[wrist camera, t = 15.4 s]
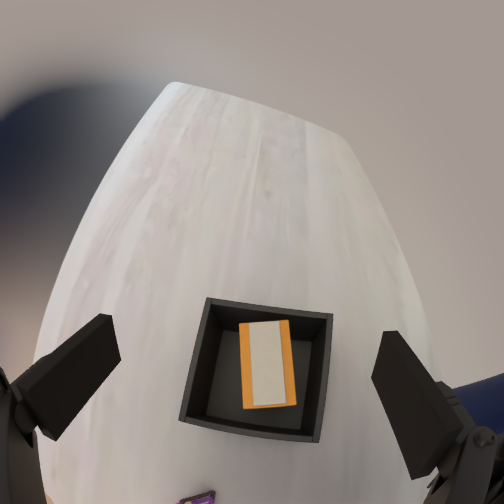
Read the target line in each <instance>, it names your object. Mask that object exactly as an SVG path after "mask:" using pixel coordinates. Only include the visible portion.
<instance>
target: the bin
mask: <svg viewBox="0 0 504 504" xmlns="http://www.w3.org/2000/svg"><path fill="white" fill-rule="evenodd" d="M281 320H288V321H289V329H290V339H291V348H292V359H293V369H294V380H295V391H296V402H297V404H296V405H292V406H283V407H272V408H257V409H243V398H242V378H241V357H240V335H239V324H240V323H254V322H268V321H281ZM332 327H333V314H330V313H320V312H311V311H302V310H294V309H286V308H278V307H270V306H262V305H255V304H248V303H241V302H234V301H228V300H221V299H215V298H213V299H212V298H209V297H207V298H206V301H205V305H204V309H203V313H202V318H201V322H200V326H199V330H198V334H197V338H196V342H195V347H194V351H193V355H192V360H191V364H190V368H189V373H188V377H187V382H186V386H185V391H184V395H183V400H182V405H181V409H180V414H179V419H178V420H179V421H182V422H185V423H189V424H193V425H197V426H201V427H205V428H210V429H214V430H219V431H224V432H229V433H235V434H240V435H246V436H253V437H259V438H267V439H275V440H284V441H295V442H310V443H311V442H312V443H319V440H320V434H321V427H322V421H323V414H324V407H325V399H326V391H327V383H328V374H329V364H330V353H331V341H332Z"/></svg>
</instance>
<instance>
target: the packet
mask: <svg viewBox="0 0 504 504" xmlns="http://www.w3.org/2000/svg"><path fill="white" fill-rule="evenodd" d="M239 335H240V357H241V378H242V398H243V409H257V408H272V407H283V406H292V405H296V404H297V402H296V391H295V380H294V369H293V359H292V348H291V339H290V329H289V321H288V320H281V321H268V322H254V323H240V324H239Z"/></svg>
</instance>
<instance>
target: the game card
mask: <svg viewBox="0 0 504 504" xmlns="http://www.w3.org/2000/svg"><path fill="white" fill-rule="evenodd" d="M209 495H210V497H209V498H205V499H201V500H198V501H194V502H191V501H193V500H196V499H200V498H203V497H206V496H209ZM214 497H215V491H209V492H206V493H203V494H200V495H196V496H193V497H189V498H186V499H182V500H180V502H179V503H177V504H213V502H214Z"/></svg>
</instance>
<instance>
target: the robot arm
mask: <svg viewBox="0 0 504 504" xmlns="http://www.w3.org/2000/svg"><path fill="white" fill-rule="evenodd" d="M120 361H121V357H120V353H119V349H118V344H117V340H116V335H115V330H114V325H113V320H112V315H106V314H99V315H97V316H96V317H95V318H94V319H92V320H91V321H90V322H88V323H87V324H86V325H85V326H84V327H82V328H81V329H80V330H79V331H77V332H76V333H75V334H74V335H72V336H71V337H70V338H69V339H68V340H66V341H65V342H64V343H63V344H62V345H60V346H59V347H58V348H57V349H56V350H54V351H53V352H52V353H50V354H48V355H46V356H44V357H42V358H40V359H39V360H38V361H37V362H36V363H35V365H34V364H33V365H32V366H31V367H30V368H29V369H28V370H26V371H25V372H24V373H23V374H22V375H20V376H19V377H18V378H17V379H16V380H15V381H14V382H12V383H11V384H9V382H8V380H7V378H6V375H5V373H4V371H3V369H2V368H1V367H0V504H47V502H46V497H45V492H44V487H43V482H42V476H41V469H40V462H39V453H38V443H37V434H36V431H35V430H34V429H35V427H36V426H37V425H38V427H39V428H40V430H41V432H42V433H43V435H45V436H47V437H48V438H50V439H52V440H54V441H57V440H58V438H59V437H60V436H61V435H62V433H63V432H64V431H65V429H66V428H67V427H68V426H69V424H70V423H71V422H72V420H73V419H74V418H75V417H76V415H77V414H78V413H79V412H80V410H81V409H82V408H83V407H84V405H85V404H86V403H87V402H88V400H89V399H90V398H91V397H92V395H93V394H94V393H95V392H96V390H97V389H98V388H99V387H100V385H101V384H102V383H103V382H104V381H105V379H106V378H107V377H108V376H109V374H110V373H111V372H112V371H113V370H114V368H115V367H116V366H117V365H118V364H119V362H120ZM371 379H372V381H373V383H374V386H375V388H376V390H377V393H378V395H379V397H380V400H381V402H382V404H383V407H384V409H385V412H386V414H387V417H388V419H389V421H390V424H391V426H392V429H393V431H394V434H395V437H396V439H397V442H398V444H399V447H400V449H401V452H402V455H403V457H404V460H405V463H406V466H407V468H408V471H409V474H410V477H411V480H414V479H418V478H421V477H424V476H428V475H430V473H431V472H432V471H433V470H434V468H435V467H436V466H437V468H438V470H439V473H438V474H437V476H436V477H435V478H434V479H433V480H432V481H431V482H430V484H429V485H428V486H427V488H430V487H431V489H430V491H429V493H428V495H427V497H426V499H425V501H424V503H423V504H504V433H503V434H495V432H494V431H493V430H492V429H490V428H488V427H486V426H477V425H476V424H475V422H474V421H473V419H472V418H471V416H470V415H469V413H468V412H467V411H466V409H465V408H464V406H463V405H462V404H460V400H459V399H458V398H457V397H456V395H455V393H454V392H453V391H452V389H451V388H450V387H449V386H447V385H446V384H445V383H443V382H442V381H440V382H435V381H434V380H433V379H432V377H431V376H430V374H429V373H428V371H427V370H426V369H425V367H424V366H423V364H422V363H421V362H420V360H419V359H418V358H417V356H416V355H415V353H414V352H413V351H412V349H411V348H410V347H409V345H408V344H407V343H406V341H405V340H404V339H403V337H402V336H401V335H400V333H399V332H398V331H383V335H382V339H381V343H380V347H379V351H378V355H377V359H376V362H375V366H374V369H373V373H372V376H371ZM431 485H432V486H431Z"/></svg>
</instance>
